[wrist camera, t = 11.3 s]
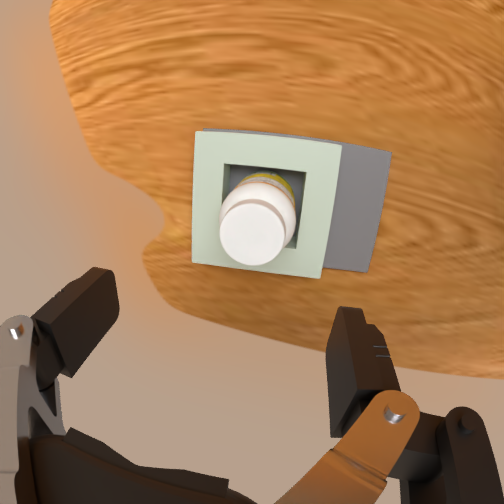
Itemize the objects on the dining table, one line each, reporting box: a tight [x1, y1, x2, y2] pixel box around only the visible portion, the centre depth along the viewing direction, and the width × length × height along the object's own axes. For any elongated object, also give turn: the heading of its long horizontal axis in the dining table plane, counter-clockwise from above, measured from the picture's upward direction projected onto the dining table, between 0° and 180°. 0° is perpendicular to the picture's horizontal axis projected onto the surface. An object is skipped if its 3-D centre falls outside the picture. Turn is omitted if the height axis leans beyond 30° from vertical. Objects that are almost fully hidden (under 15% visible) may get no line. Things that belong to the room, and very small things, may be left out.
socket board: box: [192, 128, 392, 279], centre depth 25 cm, size 12×17×4 cm
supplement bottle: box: [219, 171, 296, 266], centre depth 22 cm, size 5×5×10 cm
